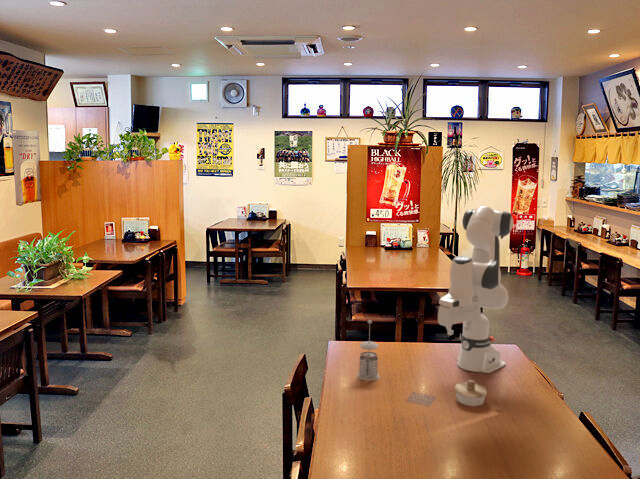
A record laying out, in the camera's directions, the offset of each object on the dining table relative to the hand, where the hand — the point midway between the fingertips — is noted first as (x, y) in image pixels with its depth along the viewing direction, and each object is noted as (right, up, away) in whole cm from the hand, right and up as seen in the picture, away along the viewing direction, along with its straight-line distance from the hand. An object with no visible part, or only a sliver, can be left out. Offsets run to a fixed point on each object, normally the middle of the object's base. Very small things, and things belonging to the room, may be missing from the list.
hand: (458, 332), depth 220 cm
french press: (-34, -23, +21) cm, 46 cm away
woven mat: (-15, -27, -2) cm, 32 cm away
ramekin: (+4, -27, -3) cm, 28 cm away
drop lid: (+4, -22, -3) cm, 23 cm away
